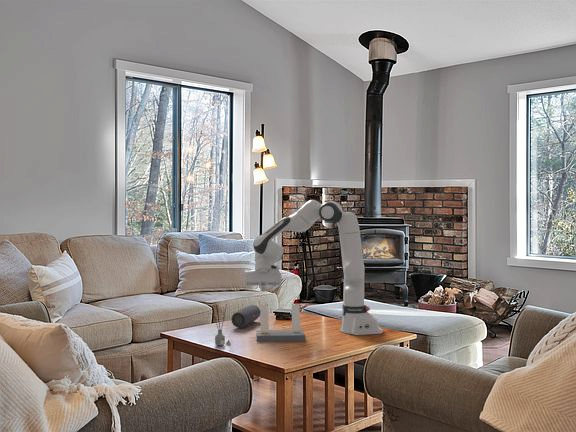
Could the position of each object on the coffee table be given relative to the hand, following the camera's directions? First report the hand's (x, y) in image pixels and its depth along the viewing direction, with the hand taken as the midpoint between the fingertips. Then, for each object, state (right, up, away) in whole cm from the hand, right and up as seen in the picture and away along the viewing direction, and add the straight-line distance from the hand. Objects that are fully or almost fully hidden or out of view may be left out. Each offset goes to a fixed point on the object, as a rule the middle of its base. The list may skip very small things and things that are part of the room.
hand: (263, 290), depth 324 cm
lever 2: (+17, -19, -16) cm, 31 cm away
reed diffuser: (-20, -23, -30) cm, 43 cm away
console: (+9, -22, -17) cm, 29 cm away
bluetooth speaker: (-10, -21, +13) cm, 27 cm away
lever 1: (+1, -19, -18) cm, 26 cm away
